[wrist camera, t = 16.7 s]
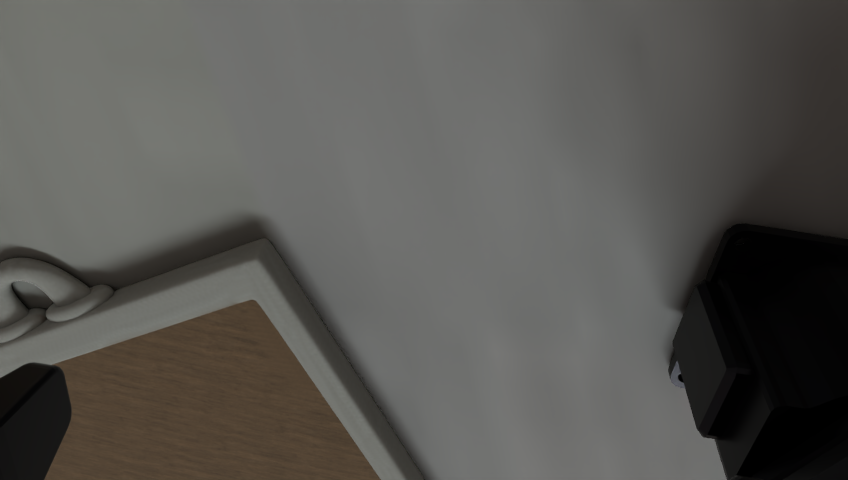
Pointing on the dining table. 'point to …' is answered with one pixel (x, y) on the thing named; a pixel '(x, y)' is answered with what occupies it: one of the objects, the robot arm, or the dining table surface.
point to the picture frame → (199, 376)
